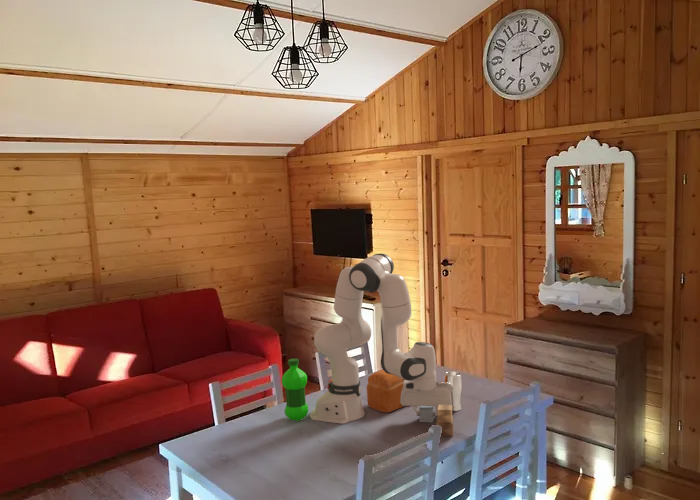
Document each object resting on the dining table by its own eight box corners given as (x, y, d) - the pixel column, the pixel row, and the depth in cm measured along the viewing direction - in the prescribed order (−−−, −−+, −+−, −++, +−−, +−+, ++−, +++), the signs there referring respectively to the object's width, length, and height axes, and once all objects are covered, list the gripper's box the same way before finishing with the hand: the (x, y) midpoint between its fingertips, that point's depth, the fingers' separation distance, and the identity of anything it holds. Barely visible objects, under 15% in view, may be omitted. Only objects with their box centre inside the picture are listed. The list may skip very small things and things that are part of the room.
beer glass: (443, 410, 245) (441, 375, 244) (448, 404, 251) (447, 370, 250) (459, 412, 242) (458, 377, 240) (464, 406, 248) (463, 371, 247)
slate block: (419, 421, 235) (419, 409, 234) (421, 416, 240) (420, 405, 239) (432, 422, 234) (432, 410, 233) (433, 417, 238) (433, 405, 238)
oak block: (438, 422, 222) (437, 409, 221) (439, 417, 227) (438, 404, 226) (451, 423, 221) (451, 410, 220) (452, 417, 225) (451, 405, 225)
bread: (429, 397, 261) (427, 362, 260) (387, 414, 244) (385, 377, 242) (406, 390, 272) (404, 356, 270) (364, 406, 254) (362, 371, 253)
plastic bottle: (304, 424, 238) (300, 364, 235) (280, 422, 242) (276, 363, 239) (313, 415, 248) (309, 356, 245) (290, 413, 251) (286, 355, 248)
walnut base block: (436, 436, 222) (436, 423, 221) (437, 429, 227) (437, 416, 227) (452, 436, 220) (452, 423, 220) (453, 430, 226) (453, 417, 226)
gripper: (451, 379, 236) (453, 413, 238) (400, 379, 240) (402, 412, 241) (451, 385, 230) (452, 419, 231) (399, 384, 234) (400, 418, 235)
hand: (426, 415), depth 236 cm, fingers closed on slate block, 5 cm apart
